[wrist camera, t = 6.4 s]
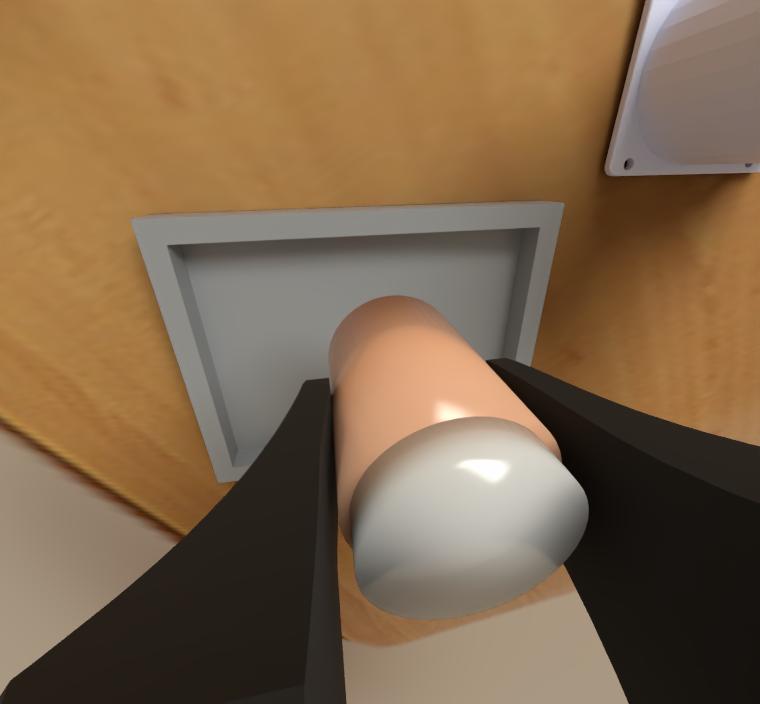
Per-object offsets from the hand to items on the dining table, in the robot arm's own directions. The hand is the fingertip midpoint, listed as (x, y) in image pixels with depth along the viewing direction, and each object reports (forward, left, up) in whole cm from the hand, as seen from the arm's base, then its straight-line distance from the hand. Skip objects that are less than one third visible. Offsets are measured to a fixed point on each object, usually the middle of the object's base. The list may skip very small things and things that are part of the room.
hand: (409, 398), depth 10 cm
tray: (0, +3, -9) cm, 10 cm away
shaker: (0, 0, -3) cm, 3 cm away
